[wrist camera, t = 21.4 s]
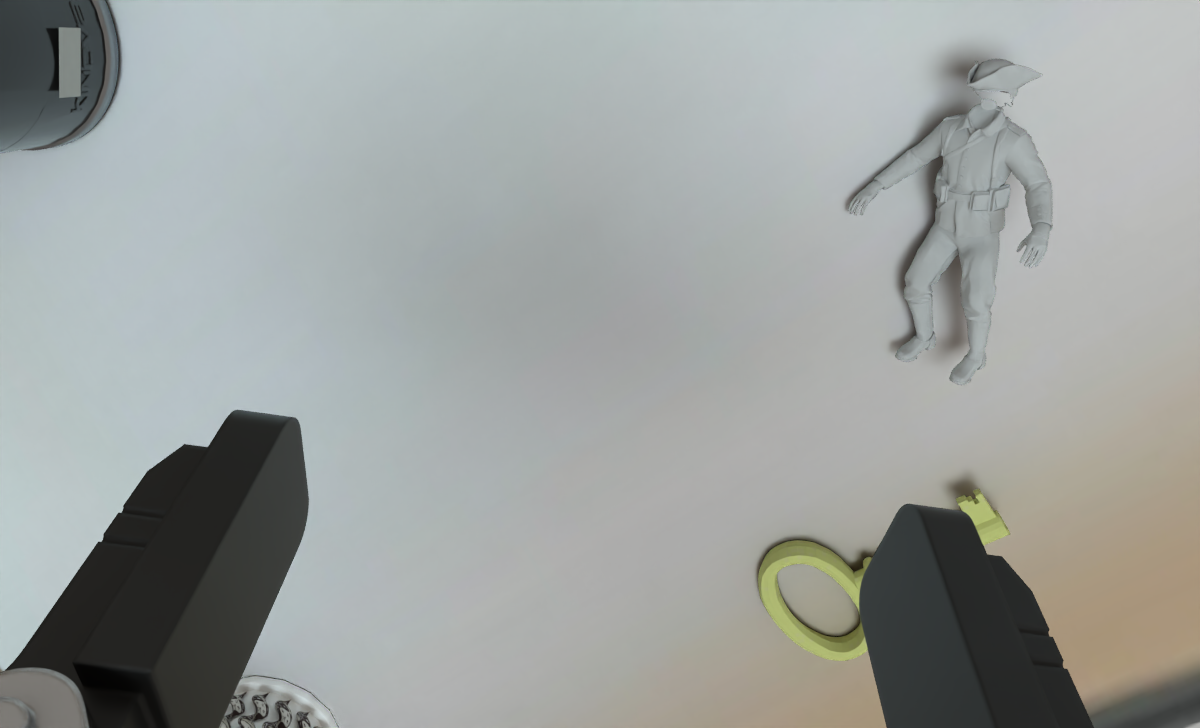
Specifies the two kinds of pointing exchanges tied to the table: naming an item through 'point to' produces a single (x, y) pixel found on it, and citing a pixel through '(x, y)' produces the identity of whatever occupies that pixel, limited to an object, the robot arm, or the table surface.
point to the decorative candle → (274, 706)
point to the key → (846, 581)
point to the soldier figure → (971, 208)
